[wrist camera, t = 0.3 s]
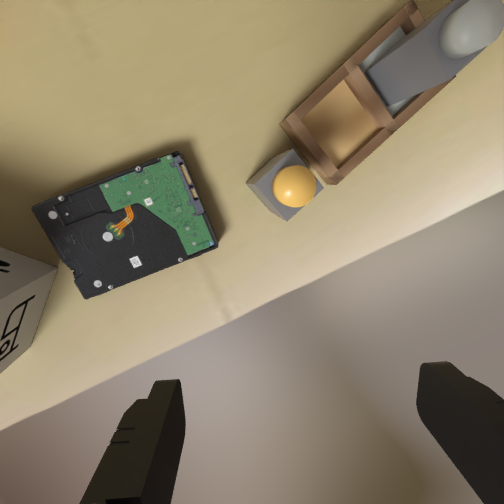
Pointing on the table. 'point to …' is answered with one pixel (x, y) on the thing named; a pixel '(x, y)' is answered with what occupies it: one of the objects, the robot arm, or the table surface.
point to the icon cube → (21, 302)
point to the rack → (354, 107)
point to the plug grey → (437, 48)
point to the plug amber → (285, 184)
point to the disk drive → (128, 224)
